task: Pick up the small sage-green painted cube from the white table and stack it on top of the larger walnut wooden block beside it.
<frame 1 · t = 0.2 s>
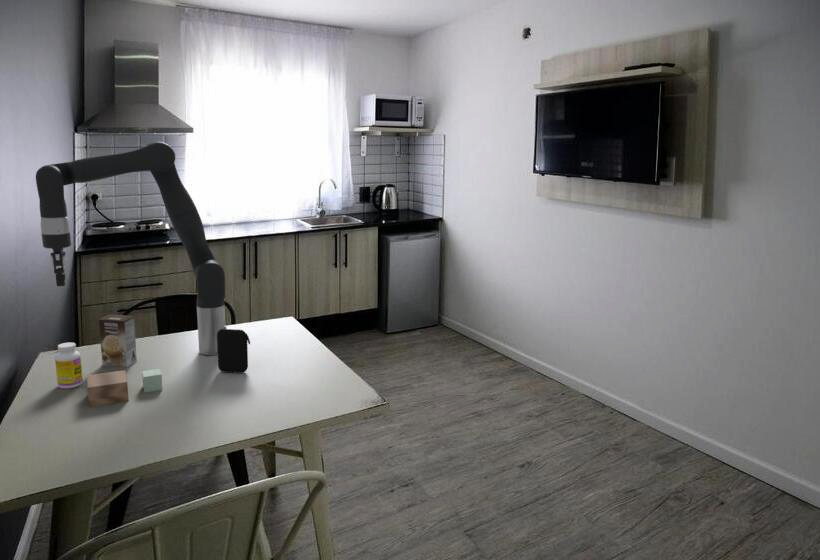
hand: (61, 283, 183), 29 cm above the table, tool pointing down, fingers open, 8 cm apart
coffee box: (119, 363, 196), on the table
supplement bottle: (70, 385, 178), on the table
walnut block: (108, 397, 171), on the table
carrying case or bag: (234, 372, 192), on the table
sage cube: (152, 388, 178), on the table
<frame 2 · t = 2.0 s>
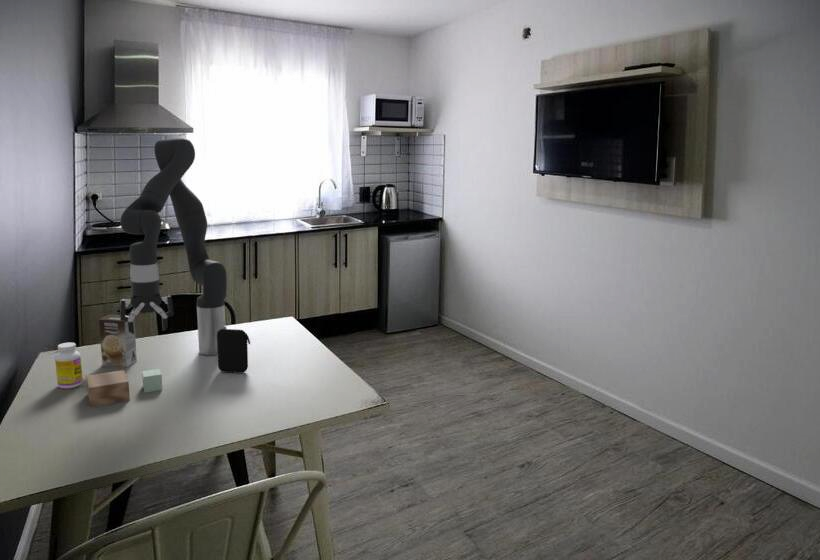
hand: (148, 331, 174), 18 cm above the table, tool pointing down, fingers open, 8 cm apart
nothing on the table moved.
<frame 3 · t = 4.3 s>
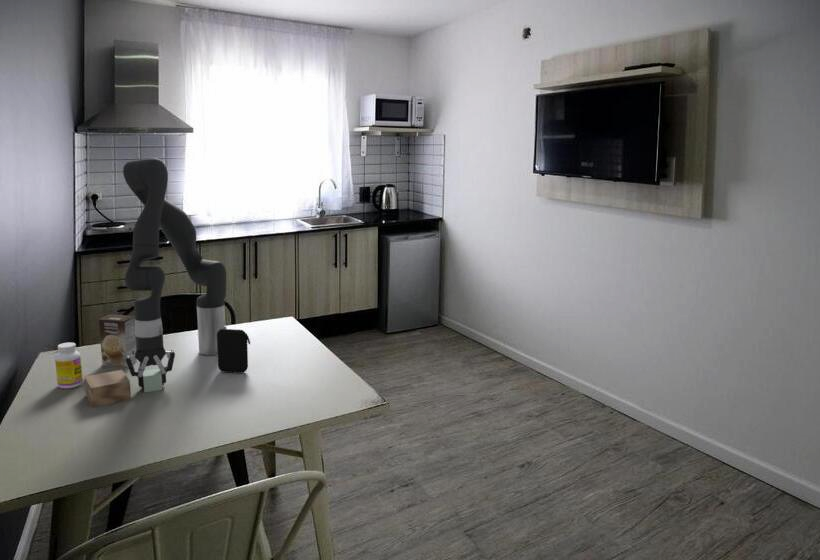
hand: (152, 385, 178), 1 cm above the table, tool pointing down, fingers closed on sage cube, 5 cm apart
sage cube: (152, 387, 178), on the table, touching gripper
everything else where it was.
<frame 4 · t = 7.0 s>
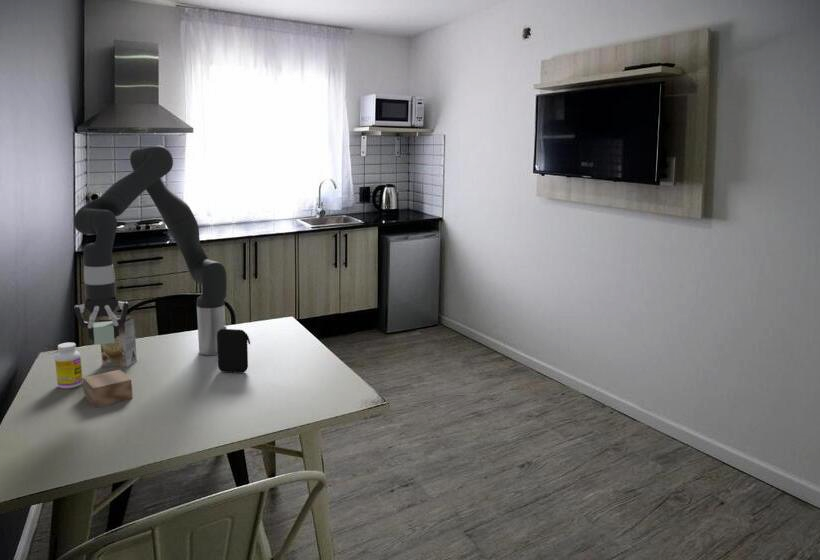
hand: (104, 338, 167), 18 cm above the table, tool pointing down, fingers closed on sage cube, 5 cm apart
sage cube: (104, 341, 167), point 17 cm above the table, touching gripper
everything else where it was.
when the fingers open (8 cm above the table, at t = 9.7 s): sage cube drops 1 cm, resting on walnut block.
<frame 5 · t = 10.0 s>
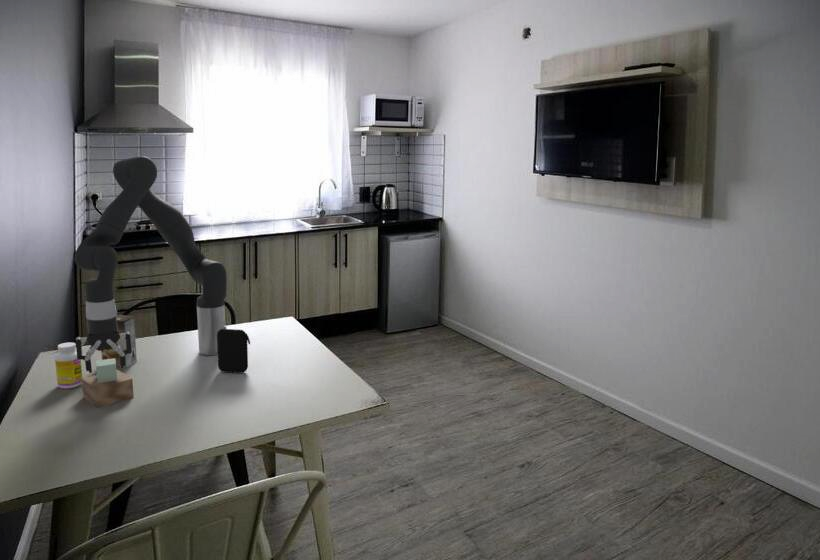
hand: (106, 369, 169), 8 cm above the table, tool pointing down, fingers open, 7 cm apart
walnut block: (108, 397, 171), on the table, touching sage cube
sage cube: (107, 378, 169), point 6 cm above the table, touching walnut block
everything else where it was.
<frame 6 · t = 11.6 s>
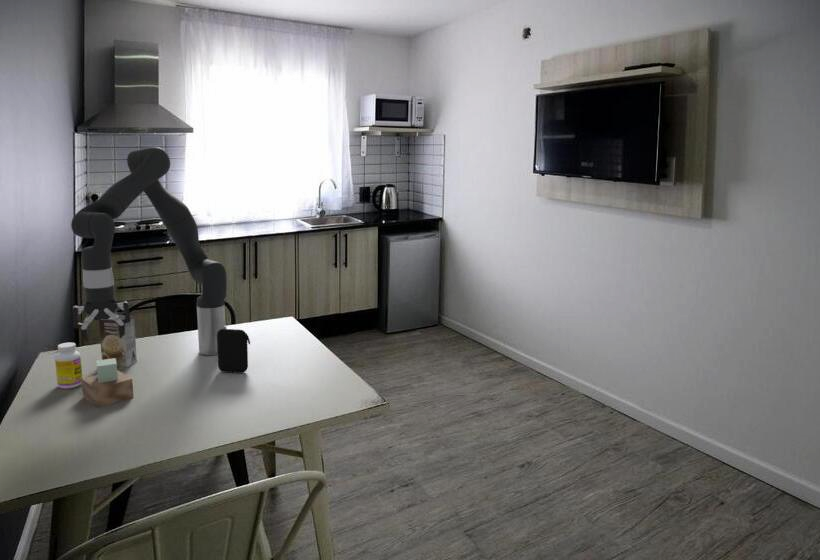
hand: (104, 339, 167), 18 cm above the table, tool pointing down, fingers open, 8 cm apart
nothing on the table moved.
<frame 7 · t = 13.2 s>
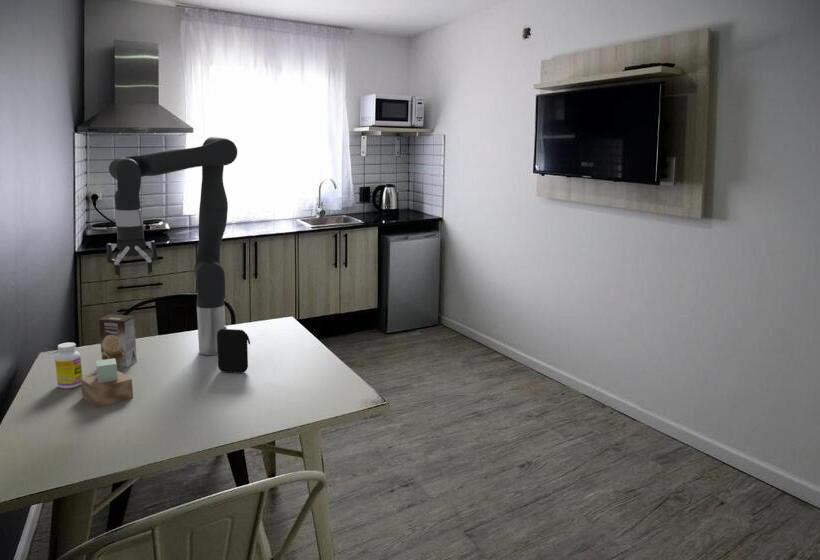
hand: (134, 274, 185), 32 cm above the table, tool pointing down, fingers open, 8 cm apart
walnut block: (108, 398, 170), on the table
sage cube: (107, 378, 169), point 6 cm above the table
everything else where it was.
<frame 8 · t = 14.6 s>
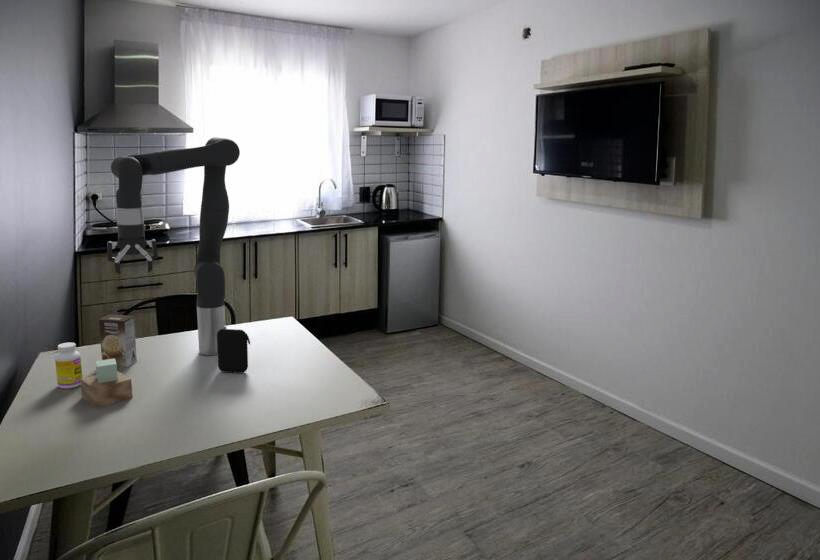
hand: (134, 273, 185), 32 cm above the table, tool pointing down, fingers open, 8 cm apart
nothing on the table moved.
at the end: sage cube 0.4 cm off-centre on the walnut block, point 6.0 cm above the walnut block's base; sage cube tilted 0°; the gripper is holding nothing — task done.
